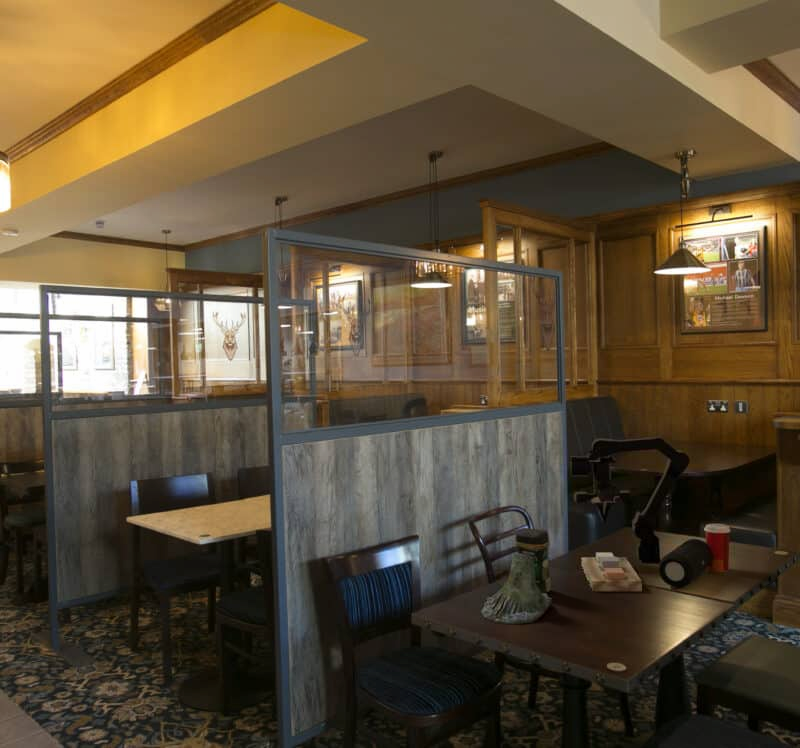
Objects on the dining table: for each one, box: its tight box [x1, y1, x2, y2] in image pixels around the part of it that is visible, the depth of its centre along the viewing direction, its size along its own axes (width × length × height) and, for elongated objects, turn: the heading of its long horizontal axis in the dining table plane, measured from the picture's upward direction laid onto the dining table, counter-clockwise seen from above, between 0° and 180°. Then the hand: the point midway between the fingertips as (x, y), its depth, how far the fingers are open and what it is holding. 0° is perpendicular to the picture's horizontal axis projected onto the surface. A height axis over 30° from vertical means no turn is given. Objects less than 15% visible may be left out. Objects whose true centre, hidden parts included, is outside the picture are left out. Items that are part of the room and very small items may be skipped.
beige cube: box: [595, 552, 615, 563], centre depth 229 cm, size 5×5×5 cm
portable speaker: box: [658, 538, 713, 589], centre depth 216 cm, size 26×10×10 cm, turn 141°
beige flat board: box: [581, 556, 643, 592], centre depth 220 cm, size 14×26×3 cm, turn 172°
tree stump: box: [481, 552, 552, 625], centre depth 195 cm, size 18×20×18 cm
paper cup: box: [703, 523, 732, 573], centre depth 223 cm, size 8×8×14 cm
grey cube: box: [600, 556, 619, 571], centre depth 220 cm, size 5×5×5 cm
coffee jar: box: [514, 527, 552, 594], centre depth 210 cm, size 10×8×19 cm
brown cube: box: [604, 568, 625, 580], centre depth 211 cm, size 5×5×5 cm
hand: (604, 521), depth 240 cm, fingers closed
